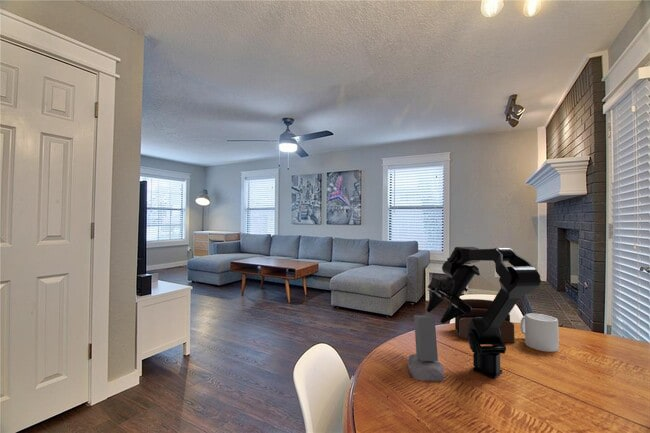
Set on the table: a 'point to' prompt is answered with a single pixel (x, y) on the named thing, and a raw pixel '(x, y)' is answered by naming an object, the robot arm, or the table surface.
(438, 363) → the stone block
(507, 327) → the letter holder
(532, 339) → the mug
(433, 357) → the pillar
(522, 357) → the table surface
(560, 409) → the table surface
